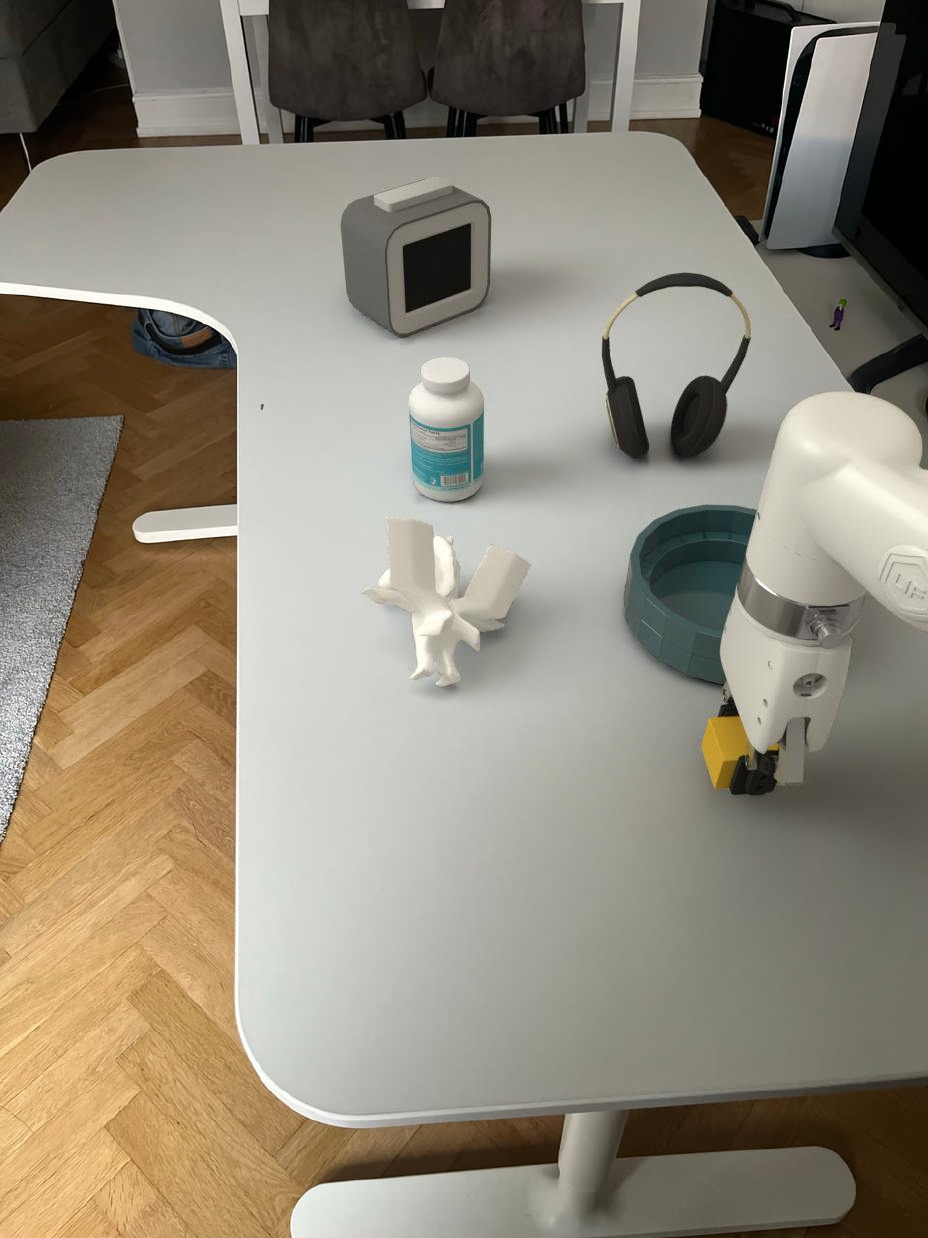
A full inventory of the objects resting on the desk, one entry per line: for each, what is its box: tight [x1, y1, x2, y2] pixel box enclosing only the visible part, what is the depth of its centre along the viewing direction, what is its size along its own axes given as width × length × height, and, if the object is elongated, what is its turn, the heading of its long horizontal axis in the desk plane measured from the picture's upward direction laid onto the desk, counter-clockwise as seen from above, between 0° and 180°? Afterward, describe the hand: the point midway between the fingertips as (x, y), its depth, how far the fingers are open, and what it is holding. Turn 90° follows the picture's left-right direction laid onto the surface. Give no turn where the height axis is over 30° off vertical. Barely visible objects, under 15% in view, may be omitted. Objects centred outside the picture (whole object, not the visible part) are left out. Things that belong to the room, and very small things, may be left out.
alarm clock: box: [340, 175, 492, 338], centre depth 126 cm, size 16×11×16 cm
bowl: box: [623, 504, 757, 685], centre depth 87 cm, size 18×18×6 cm
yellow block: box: [700, 716, 781, 790], centre depth 73 cm, size 4×5×4 cm
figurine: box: [360, 516, 532, 687], centre depth 85 cm, size 15×12×14 cm
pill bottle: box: [408, 356, 485, 502], centre depth 99 cm, size 8×7×14 cm
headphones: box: [601, 271, 752, 458], centre depth 101 cm, size 9×15×20 cm, turn 90°
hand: (742, 763), depth 74 cm, fingers closed on yellow block, 4 cm apart
